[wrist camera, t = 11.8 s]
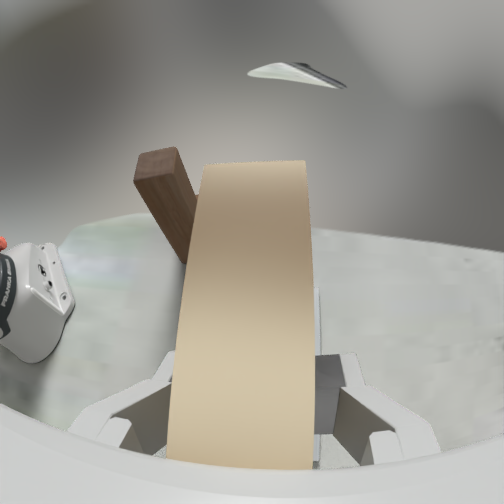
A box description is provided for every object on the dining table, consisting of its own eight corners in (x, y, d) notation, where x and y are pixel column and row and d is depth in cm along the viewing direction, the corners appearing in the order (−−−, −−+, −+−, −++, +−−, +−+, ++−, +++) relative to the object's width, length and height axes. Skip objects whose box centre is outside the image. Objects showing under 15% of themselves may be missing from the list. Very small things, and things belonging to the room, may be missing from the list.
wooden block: (184, 214, 50) (145, 128, 34) (211, 210, 50) (180, 120, 34) (181, 264, 45) (131, 182, 30) (211, 261, 45) (172, 174, 30)
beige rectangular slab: (296, 440, 14) (311, 488, 4) (245, 439, 14) (165, 476, 4) (298, 310, 17) (305, 160, 7) (252, 310, 17) (204, 164, 8)
